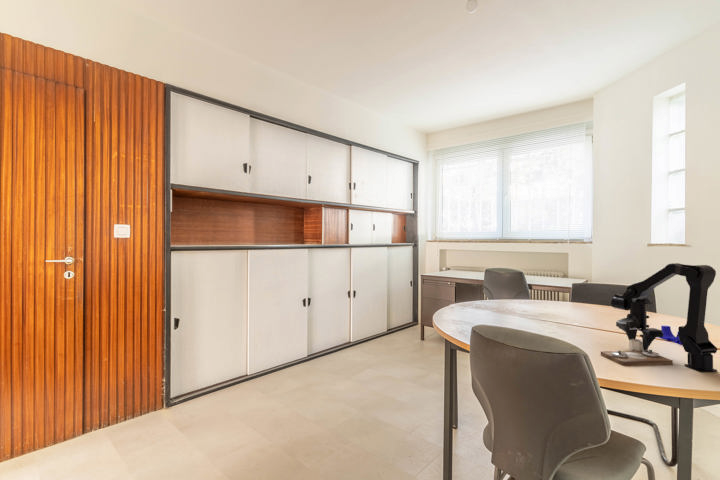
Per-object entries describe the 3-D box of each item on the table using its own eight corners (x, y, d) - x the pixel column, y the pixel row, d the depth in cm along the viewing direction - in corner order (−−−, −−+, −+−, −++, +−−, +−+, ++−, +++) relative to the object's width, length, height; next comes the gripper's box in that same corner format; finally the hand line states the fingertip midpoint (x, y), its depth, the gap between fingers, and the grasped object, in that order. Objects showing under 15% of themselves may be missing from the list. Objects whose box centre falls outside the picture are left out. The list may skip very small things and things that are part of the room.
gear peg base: (662, 357, 136) (662, 352, 136) (618, 358, 136) (618, 353, 136) (651, 353, 141) (651, 347, 141) (608, 354, 141) (608, 348, 141)
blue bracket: (658, 337, 168) (657, 325, 168) (668, 337, 167) (668, 325, 167) (676, 345, 156) (676, 332, 156) (687, 345, 155) (687, 332, 155)
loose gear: (652, 351, 146) (651, 342, 146) (637, 352, 146) (637, 342, 146) (639, 347, 153) (639, 338, 153) (625, 347, 153) (625, 338, 153)
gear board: (672, 364, 133) (672, 360, 133) (622, 365, 132) (622, 361, 132) (646, 353, 145) (646, 350, 145) (600, 354, 144) (600, 351, 144)
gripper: (604, 308, 159) (605, 341, 159) (638, 317, 140) (638, 355, 140) (627, 308, 159) (628, 340, 159) (664, 317, 140) (664, 354, 140)
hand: (638, 347), depth 150 cm, fingers closed on loose gear, 6 cm apart
